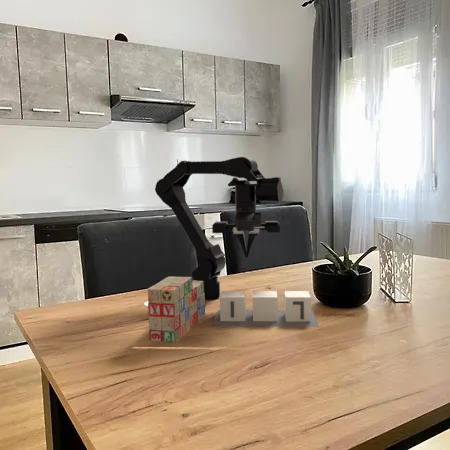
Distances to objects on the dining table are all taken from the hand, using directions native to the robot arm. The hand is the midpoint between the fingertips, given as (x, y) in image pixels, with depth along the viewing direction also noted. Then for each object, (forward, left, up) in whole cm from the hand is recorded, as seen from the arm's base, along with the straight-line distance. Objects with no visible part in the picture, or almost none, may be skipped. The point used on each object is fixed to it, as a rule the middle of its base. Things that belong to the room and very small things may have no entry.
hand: (246, 257), depth 128 cm
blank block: (+5, -16, -13) cm, 21 cm away
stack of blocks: (-16, -23, -13) cm, 31 cm away
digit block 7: (+13, -16, -13) cm, 24 cm away
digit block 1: (-3, -16, -13) cm, 21 cm away
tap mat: (+5, -16, -13) cm, 21 cm away
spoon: (-26, +4, -14) cm, 30 cm away
